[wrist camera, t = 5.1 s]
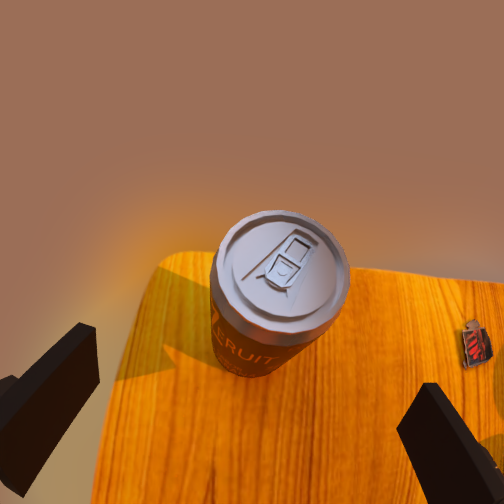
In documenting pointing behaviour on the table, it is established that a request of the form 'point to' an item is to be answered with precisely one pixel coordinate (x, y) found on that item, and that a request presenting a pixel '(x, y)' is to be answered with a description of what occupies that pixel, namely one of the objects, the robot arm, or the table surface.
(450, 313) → the table surface
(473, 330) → the matchbox
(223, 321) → the beer can
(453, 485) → the robot arm
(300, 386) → the table surface
